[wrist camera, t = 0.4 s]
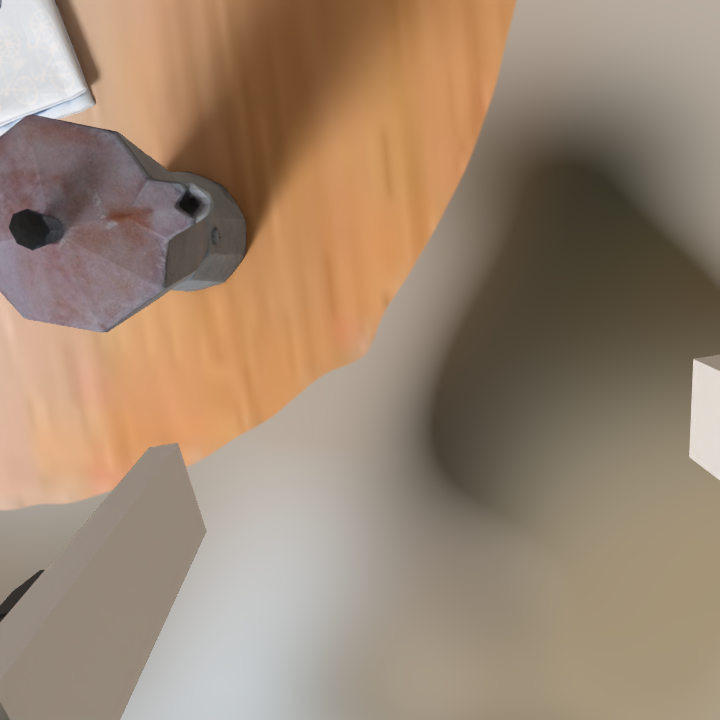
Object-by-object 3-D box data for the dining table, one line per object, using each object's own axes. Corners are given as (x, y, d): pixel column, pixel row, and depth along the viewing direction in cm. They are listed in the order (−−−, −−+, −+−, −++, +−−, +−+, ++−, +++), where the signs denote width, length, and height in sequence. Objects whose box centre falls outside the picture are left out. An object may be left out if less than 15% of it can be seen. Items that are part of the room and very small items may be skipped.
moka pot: (300, 269, 38) (217, 303, 19) (124, 320, 40) (-118, 399, 21) (261, 145, 36) (123, 39, 17) (77, 204, 38) (-243, 171, 18)
